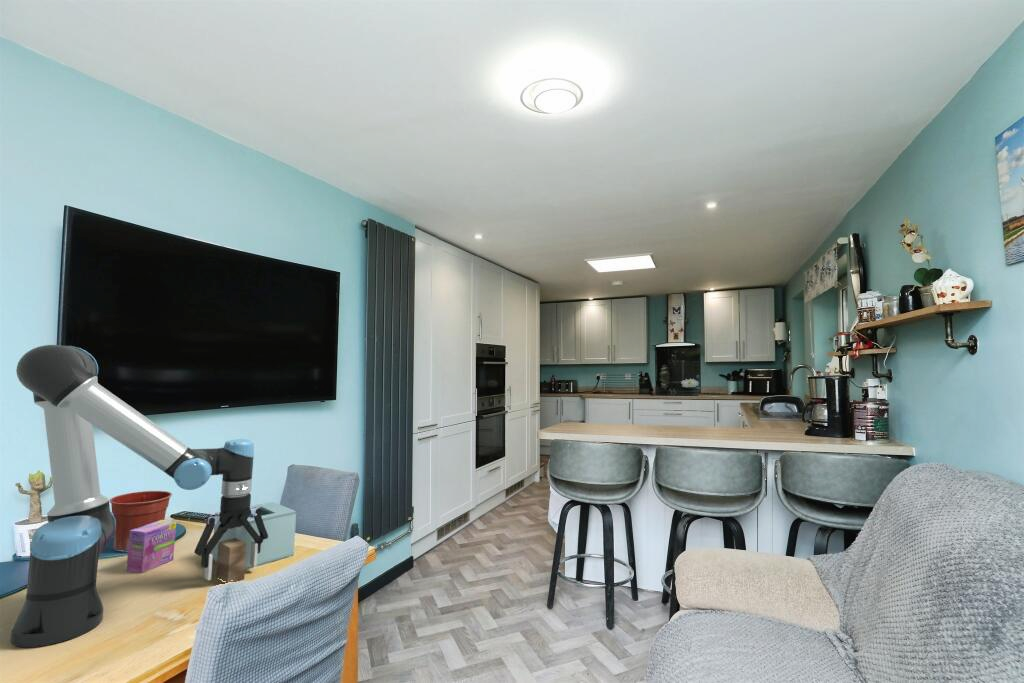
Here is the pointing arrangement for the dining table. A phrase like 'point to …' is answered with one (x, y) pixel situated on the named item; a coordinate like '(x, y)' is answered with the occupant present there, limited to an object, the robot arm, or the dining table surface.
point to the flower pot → (136, 513)
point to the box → (151, 546)
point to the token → (231, 560)
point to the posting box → (278, 529)
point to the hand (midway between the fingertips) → (231, 571)
